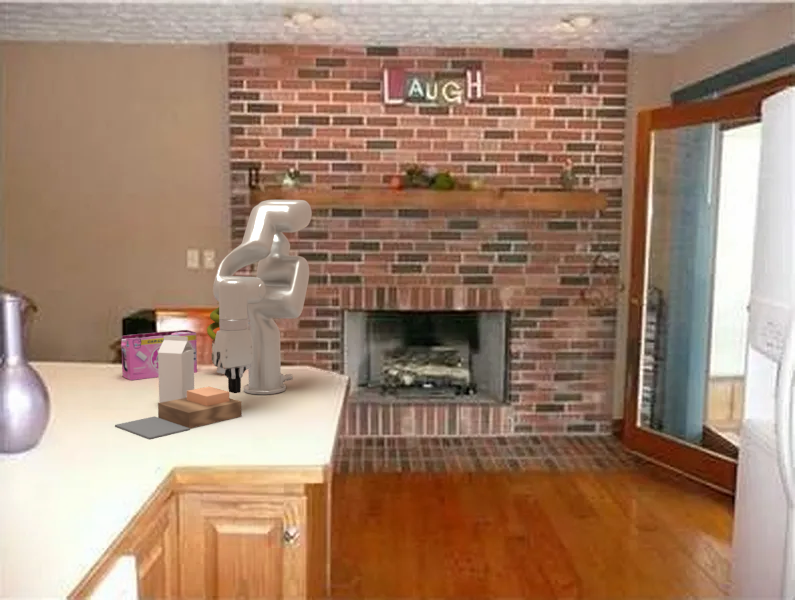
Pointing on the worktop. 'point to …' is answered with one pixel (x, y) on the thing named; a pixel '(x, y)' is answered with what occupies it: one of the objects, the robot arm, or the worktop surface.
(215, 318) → the prank snake can
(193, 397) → the peach flat block
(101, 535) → the worktop surface
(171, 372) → the milk carton
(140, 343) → the gum box
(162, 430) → the mat
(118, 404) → the worktop surface
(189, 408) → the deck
